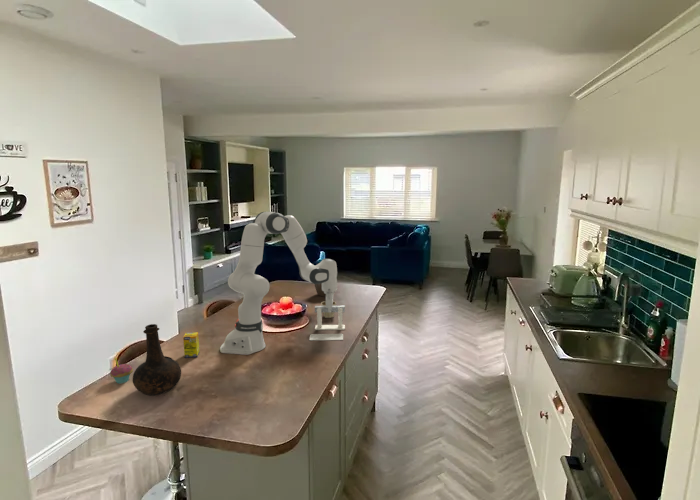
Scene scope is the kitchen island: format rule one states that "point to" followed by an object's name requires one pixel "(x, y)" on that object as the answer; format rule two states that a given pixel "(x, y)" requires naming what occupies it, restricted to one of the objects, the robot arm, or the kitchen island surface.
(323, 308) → the rail
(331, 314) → the flower pot
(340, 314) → the twin post stand
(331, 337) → the pad
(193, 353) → the supplement box
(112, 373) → the cupcake
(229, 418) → the kitchen island surface
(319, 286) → the plant pot
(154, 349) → the glass bottle
